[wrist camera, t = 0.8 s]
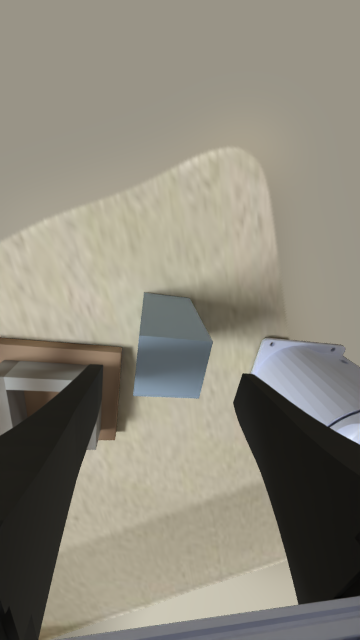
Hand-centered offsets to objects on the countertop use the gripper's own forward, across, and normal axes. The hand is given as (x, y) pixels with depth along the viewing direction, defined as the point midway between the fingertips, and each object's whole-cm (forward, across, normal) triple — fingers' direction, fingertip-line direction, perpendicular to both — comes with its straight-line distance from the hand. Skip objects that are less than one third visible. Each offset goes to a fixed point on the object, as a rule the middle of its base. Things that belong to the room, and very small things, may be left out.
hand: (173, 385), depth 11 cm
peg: (+9, 0, 0) cm, 9 cm away
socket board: (+9, +9, +9) cm, 16 cm away
